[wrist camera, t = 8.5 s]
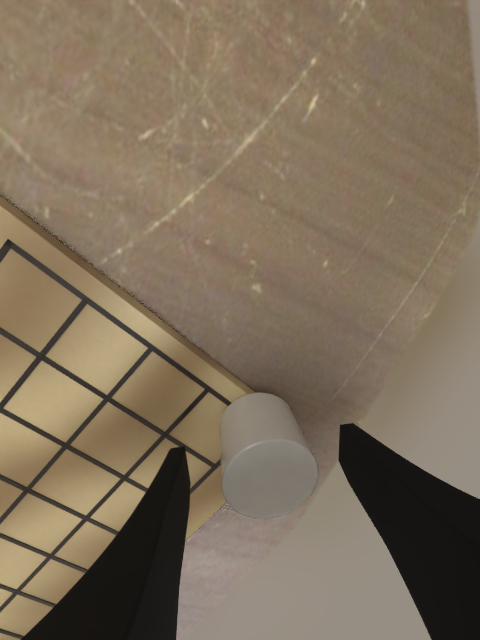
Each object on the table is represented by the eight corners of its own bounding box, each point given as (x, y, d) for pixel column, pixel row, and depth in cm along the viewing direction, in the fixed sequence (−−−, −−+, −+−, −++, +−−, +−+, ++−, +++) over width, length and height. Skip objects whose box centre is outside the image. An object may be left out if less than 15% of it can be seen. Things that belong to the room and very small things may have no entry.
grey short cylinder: (308, 418, 14) (338, 471, 11) (259, 468, 14) (273, 532, 11) (253, 377, 13) (268, 422, 10) (202, 432, 13) (200, 492, 10)
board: (293, 421, 15) (299, 433, 14) (56, 651, 18) (46, 676, 17) (-11, 186, 10) (-36, 179, 9) (-260, 551, 14) (-299, 576, 12)
